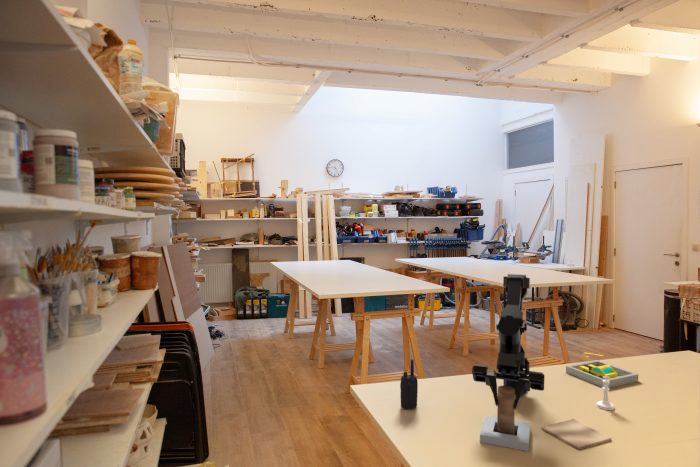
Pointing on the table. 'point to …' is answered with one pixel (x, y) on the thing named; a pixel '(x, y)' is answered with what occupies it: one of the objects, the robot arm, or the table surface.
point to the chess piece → (605, 396)
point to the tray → (623, 378)
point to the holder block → (505, 439)
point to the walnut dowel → (506, 410)
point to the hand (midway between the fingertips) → (505, 406)
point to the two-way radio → (409, 389)
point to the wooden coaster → (576, 434)
